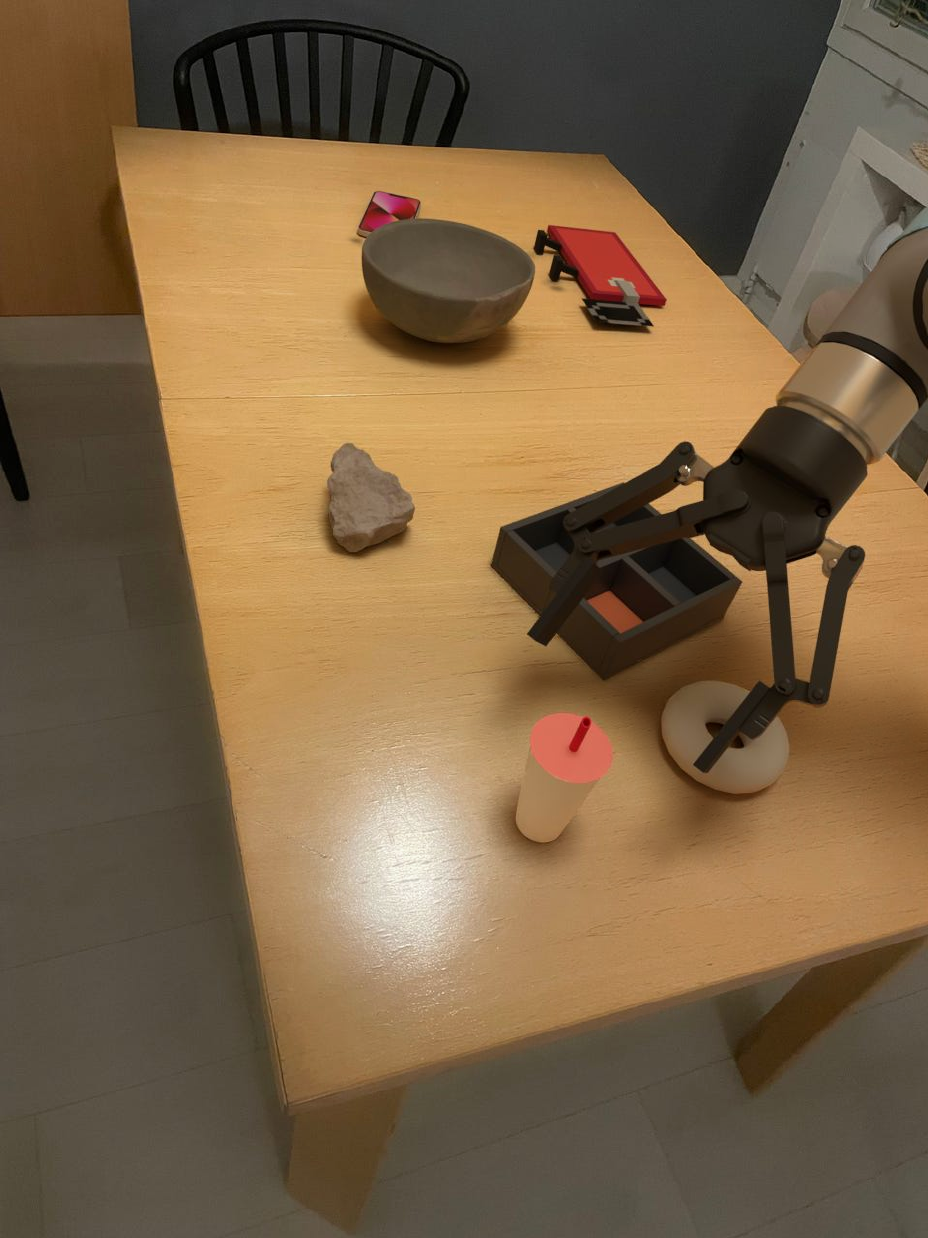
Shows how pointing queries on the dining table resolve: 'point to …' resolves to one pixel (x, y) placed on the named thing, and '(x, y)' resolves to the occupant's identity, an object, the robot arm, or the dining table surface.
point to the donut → (690, 739)
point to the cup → (560, 773)
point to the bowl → (445, 278)
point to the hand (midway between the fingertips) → (614, 702)
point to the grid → (617, 587)
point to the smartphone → (387, 211)
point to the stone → (365, 500)
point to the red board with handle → (602, 273)
